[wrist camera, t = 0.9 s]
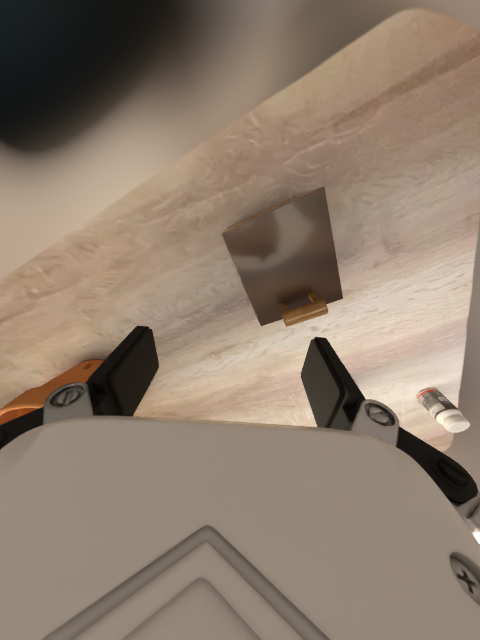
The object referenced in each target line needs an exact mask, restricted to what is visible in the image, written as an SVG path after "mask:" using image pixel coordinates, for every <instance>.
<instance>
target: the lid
mask: <svg viewBox="0 0 480 640" xmlns="http://www.w3.org/2000/svg"><path fill="white" fill-rule="evenodd" d="M222 236H223V238H224V241H225V243H226V245H227V248H228V250H229V252H230V255H231V257H232V260H233V262H234V264H235V267H236V269H237V271H238V274H239V276H240V278H241V281H242V283H243V285H244V288H245V290H246V292H247V295H248V297H249V300H250V302H251V304H252V307H253V309H254V311H255V314H256V316H257V318H258V321H259V323H260V325H261V326H263V325H266V324H269V323H272V322H275V321H278V320H281V319H283V320H284V323H285V326H286V327H287V326H291V325H294V324H297V323H300V322H303V321H306V320H309V319H312V318H315V317H318V316H321V315H324V314H327V313H328V308H327V305H326V304H328V303H331V302H334V301H337V300H340V299H343V296H342V290H341V284H340V278H339V272H338V266H337V260H336V254H335V248H334V242H333V236H332V230H331V224H330V218H329V212H328V206H327V200H326V195H325V189H324V187H321V188H319V189H317V190H315V191H313V192H310V193H308V194H306V195H304V196H302V197H300V198H297V199H295V200H293V201H291V202H289V203H287V204H284V205H282V206H280V207H278V208H276V209H274V210H272V211H269V212H267V213H265V214H263V215H261V216H259V217H256V218H254V219H252V220H250V221H248V222H246V223H243V224H241V225H239V226H237V227H235V228H233V229H230V230H228V231H226V232H224V233H222Z"/></svg>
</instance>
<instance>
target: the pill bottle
mask: <svg viewBox="0 0 480 640" xmlns="http://www.w3.org/2000/svg"><path fill="white" fill-rule="evenodd" d="M417 399H418V400H419V401H420V403H421V404H422V405H423V406H424V407H425V408H426V409H427V410H428V411H429V412H430V414H431V415H432V416H433V417H434V418H435V419H436V420H437V421H438V422H439V423H441V424H443V425H444V427H445V428H446V429H447V430H448V431H449V432H452V433H457V432H461V431H464V430H466V429H467V428H468V427H469V426H470V423H469V422H468V421H467V420H466V419H465V418H464V417H463V416H462V413H461V412H460V410H459V409H457V408H456V407H455V406H454V405H453V404H452V403H451V402H450V401H449V400H448V399H447V398H446V397H445V396H443V395H442V394H441V393H440V392H439V391H438V390H437V389H434V388H428V389H425V390H423V391H421V392H419V393H418V395H417Z"/></svg>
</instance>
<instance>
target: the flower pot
mask: <svg viewBox="0 0 480 640" xmlns="http://www.w3.org/2000/svg"><path fill="white" fill-rule="evenodd" d="M103 362H104V361H103V360H89V361H85V362H82V363H80V364H79V365H77V366H75V367H73V368H71V369H70V370H68V371H66V372H64V373H63V374H61V375H59V376H58V377H56V378H54V379H53V380H51V381H49V382H47V383H46V384H44V385H42V386H40V387H36V388H33V389H30V390H27V391H25V392H24V393H22V394H21V395H19V396H18V397H17V398H15V399H14V400H12V401H11V402H10V403H8V404H7V405H6V406H4V407H3V408H1V409H0V425H1V424H4V423H6V422H8V421H11V420H13V419H15V418H18V417H20V416H22V415H25V414H27V413H29V412H32V411H34V410H36V409H39V408H41V407H43V406H44V403H45V400H46V398H47V397H48V396H49V395H50V394H51V393H52V392H53V391H54V390H56V389H58V388H59V387H61V386H64V385H66V384H69V383H73V382H84V383H85V382H86V381H87V380H88V379H89V377H90V376H91V374H92V373H93V372H94V371H95V370H96V369H97V368H98V367H99V366H100V365H101V364H102V363H103Z"/></svg>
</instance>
